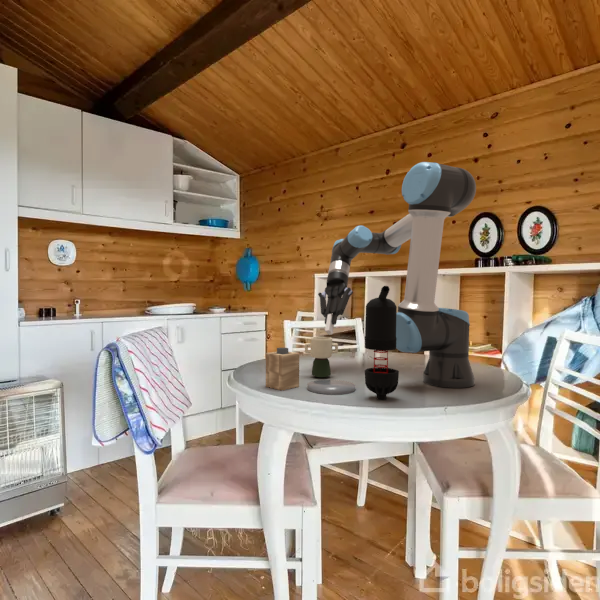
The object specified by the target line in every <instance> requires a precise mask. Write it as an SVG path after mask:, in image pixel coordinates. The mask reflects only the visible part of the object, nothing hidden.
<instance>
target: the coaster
mask: <svg viewBox="0 0 600 600" xmlns="http://www.w3.org/2000/svg"><path fill="white" fill-rule="evenodd" d="M306 389H308V390H307V391H309V392H311V393H315V394H320V395H331V396H332V395H335V396H336V395H348V394H351V392H352V393H354V392H355V391H356V384H355V383H353V382H351V381H347V380H341V379H339V380H338V379H318V380H311V381H309V382H307V384H306Z"/></svg>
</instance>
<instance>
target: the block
mask: <svg viewBox="0 0 600 600" xmlns="http://www.w3.org/2000/svg"><path fill="white" fill-rule="evenodd" d="M269 387H270V389H273V388H274V389H275V390H278V391H282V390H283V391H287V390H291V388H292V389H296V388H299V387H300V353H299V352H293V351H288V354H277V351H272V352H271V351H270V352H265V388H269ZM295 387H296V388H295ZM286 389H287V390H286Z"/></svg>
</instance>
